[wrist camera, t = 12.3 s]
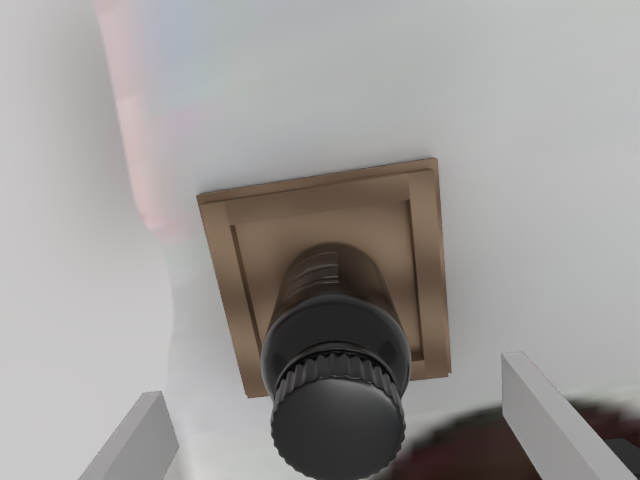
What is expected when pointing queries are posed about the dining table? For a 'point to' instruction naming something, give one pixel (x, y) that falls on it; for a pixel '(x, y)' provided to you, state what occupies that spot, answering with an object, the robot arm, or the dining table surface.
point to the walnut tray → (325, 228)
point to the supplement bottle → (336, 366)
